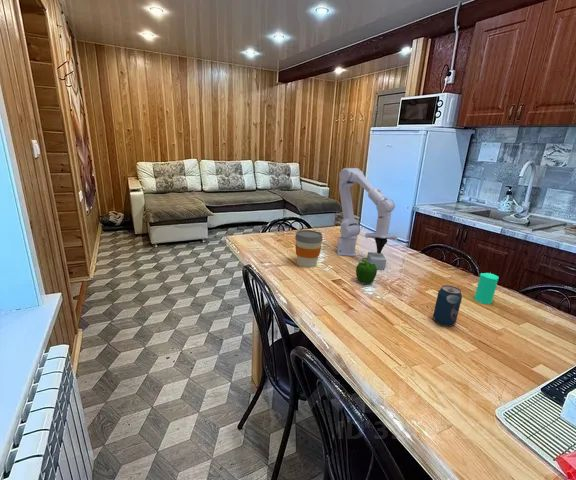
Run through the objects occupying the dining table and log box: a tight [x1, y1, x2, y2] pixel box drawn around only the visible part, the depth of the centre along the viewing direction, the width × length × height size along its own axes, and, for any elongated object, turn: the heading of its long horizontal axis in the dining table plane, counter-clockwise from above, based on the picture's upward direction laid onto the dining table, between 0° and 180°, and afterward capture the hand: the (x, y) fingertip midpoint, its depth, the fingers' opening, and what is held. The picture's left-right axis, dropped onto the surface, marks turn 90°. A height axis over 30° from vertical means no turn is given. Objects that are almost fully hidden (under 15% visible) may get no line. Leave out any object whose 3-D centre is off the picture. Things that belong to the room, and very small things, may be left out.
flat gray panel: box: [362, 257, 385, 271], centre depth 152 cm, size 8×14×1 cm, turn 175°
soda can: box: [432, 284, 463, 327], centre depth 102 cm, size 7×7×12 cm
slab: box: [366, 251, 387, 269], centre depth 151 cm, size 4×10×7 cm
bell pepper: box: [355, 259, 378, 285], centre depth 130 cm, size 8×8×10 cm
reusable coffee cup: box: [294, 229, 323, 269], centre depth 145 cm, size 13×13×15 cm
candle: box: [474, 271, 499, 305], centre depth 119 cm, size 6×6×12 cm
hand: (378, 252), depth 150 cm, fingers closed
